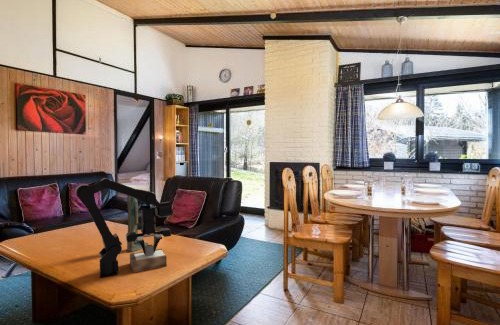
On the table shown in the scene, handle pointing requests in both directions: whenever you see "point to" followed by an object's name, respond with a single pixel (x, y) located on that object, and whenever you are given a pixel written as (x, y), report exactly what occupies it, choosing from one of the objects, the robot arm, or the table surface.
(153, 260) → the box
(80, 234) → the table surface
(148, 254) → the cover
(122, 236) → the table surface
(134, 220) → the statue
